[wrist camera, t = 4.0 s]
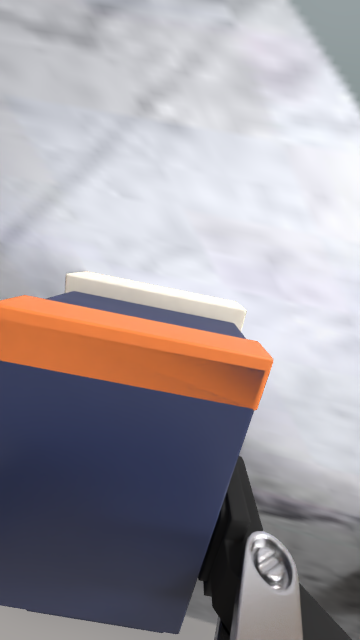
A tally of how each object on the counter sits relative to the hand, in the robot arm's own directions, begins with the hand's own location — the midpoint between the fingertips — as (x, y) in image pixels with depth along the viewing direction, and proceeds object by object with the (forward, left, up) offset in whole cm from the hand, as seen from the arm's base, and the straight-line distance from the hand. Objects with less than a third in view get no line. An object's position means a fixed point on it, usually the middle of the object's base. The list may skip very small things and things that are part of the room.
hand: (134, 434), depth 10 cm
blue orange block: (0, 0, -1) cm, 1 cm away
